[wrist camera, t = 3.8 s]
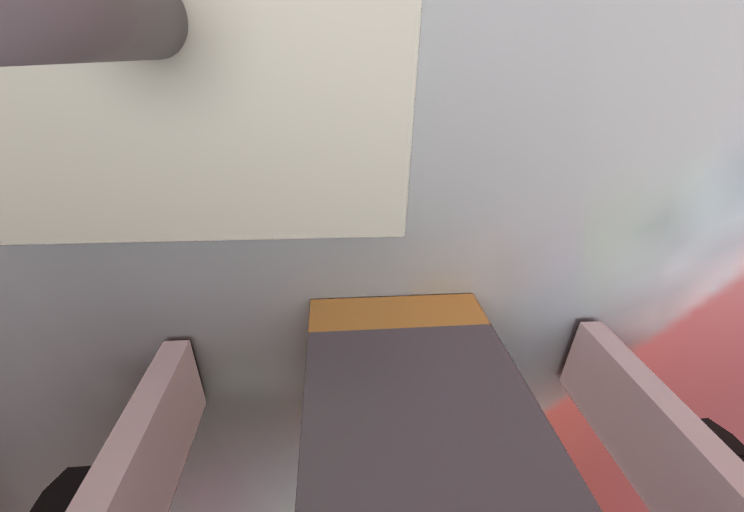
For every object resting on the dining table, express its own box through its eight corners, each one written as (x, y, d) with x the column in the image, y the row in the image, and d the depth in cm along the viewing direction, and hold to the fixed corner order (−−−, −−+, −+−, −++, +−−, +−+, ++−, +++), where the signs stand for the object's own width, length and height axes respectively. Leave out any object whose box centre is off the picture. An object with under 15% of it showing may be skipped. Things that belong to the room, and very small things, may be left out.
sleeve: (318, 413, 14) (309, 709, 7) (310, 299, 11) (287, 597, 5) (452, 404, 14) (547, 675, 8) (472, 293, 12) (630, 558, 6)
